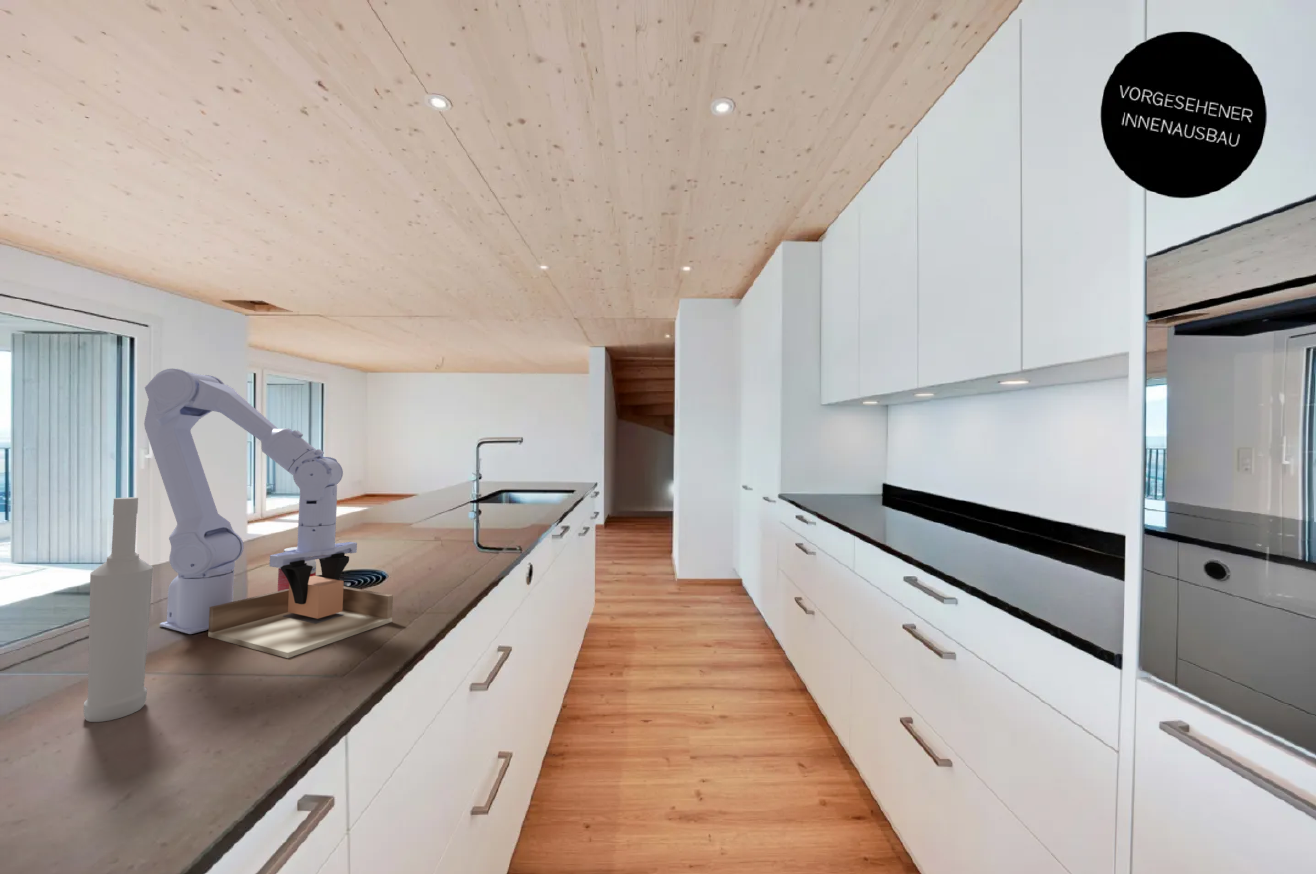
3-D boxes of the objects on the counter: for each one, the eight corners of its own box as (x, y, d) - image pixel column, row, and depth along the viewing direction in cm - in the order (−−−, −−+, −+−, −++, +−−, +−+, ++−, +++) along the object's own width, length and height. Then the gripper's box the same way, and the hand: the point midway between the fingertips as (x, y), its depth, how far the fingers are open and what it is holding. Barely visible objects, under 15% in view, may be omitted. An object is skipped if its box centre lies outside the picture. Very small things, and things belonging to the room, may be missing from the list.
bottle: (88, 728, 57) (100, 501, 57) (77, 714, 59) (88, 498, 60) (152, 708, 61) (162, 498, 62) (139, 696, 64) (149, 495, 64)
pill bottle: (314, 606, 100) (316, 549, 101) (275, 611, 97) (278, 552, 97) (314, 598, 106) (316, 544, 106) (277, 602, 102) (280, 547, 102)
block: (342, 611, 93) (343, 581, 93) (317, 618, 89) (319, 586, 89) (313, 605, 96) (314, 575, 96) (287, 612, 92) (289, 581, 92)
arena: (208, 636, 84) (209, 607, 84) (317, 606, 100) (318, 581, 100) (287, 658, 76) (288, 625, 76) (391, 621, 93) (392, 595, 93)
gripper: (289, 531, 85) (286, 614, 84) (369, 521, 98) (366, 592, 98) (263, 528, 87) (259, 608, 87) (343, 518, 101) (340, 587, 100)
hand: (314, 599), depth 93 cm, fingers closed on block, 4 cm apart
